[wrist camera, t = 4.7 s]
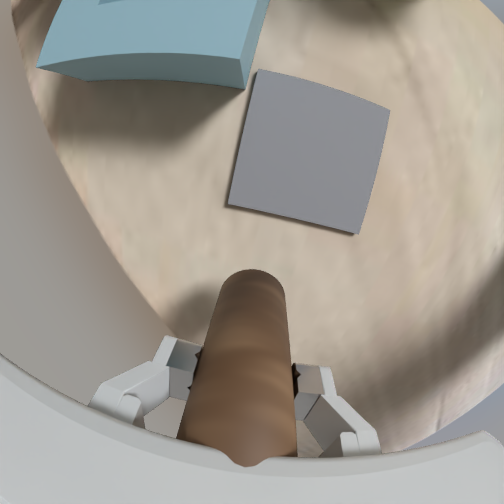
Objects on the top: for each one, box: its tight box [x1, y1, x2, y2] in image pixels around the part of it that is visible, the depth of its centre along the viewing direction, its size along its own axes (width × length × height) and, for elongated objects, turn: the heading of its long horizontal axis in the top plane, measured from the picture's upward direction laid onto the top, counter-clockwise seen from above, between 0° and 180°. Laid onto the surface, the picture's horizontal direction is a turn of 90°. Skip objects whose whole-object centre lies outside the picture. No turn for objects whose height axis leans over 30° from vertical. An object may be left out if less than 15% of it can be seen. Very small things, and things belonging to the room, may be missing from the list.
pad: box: [228, 69, 390, 234], centre depth 16 cm, size 9×9×1 cm
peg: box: [176, 269, 298, 467], centre depth 9 cm, size 4×4×12 cm
